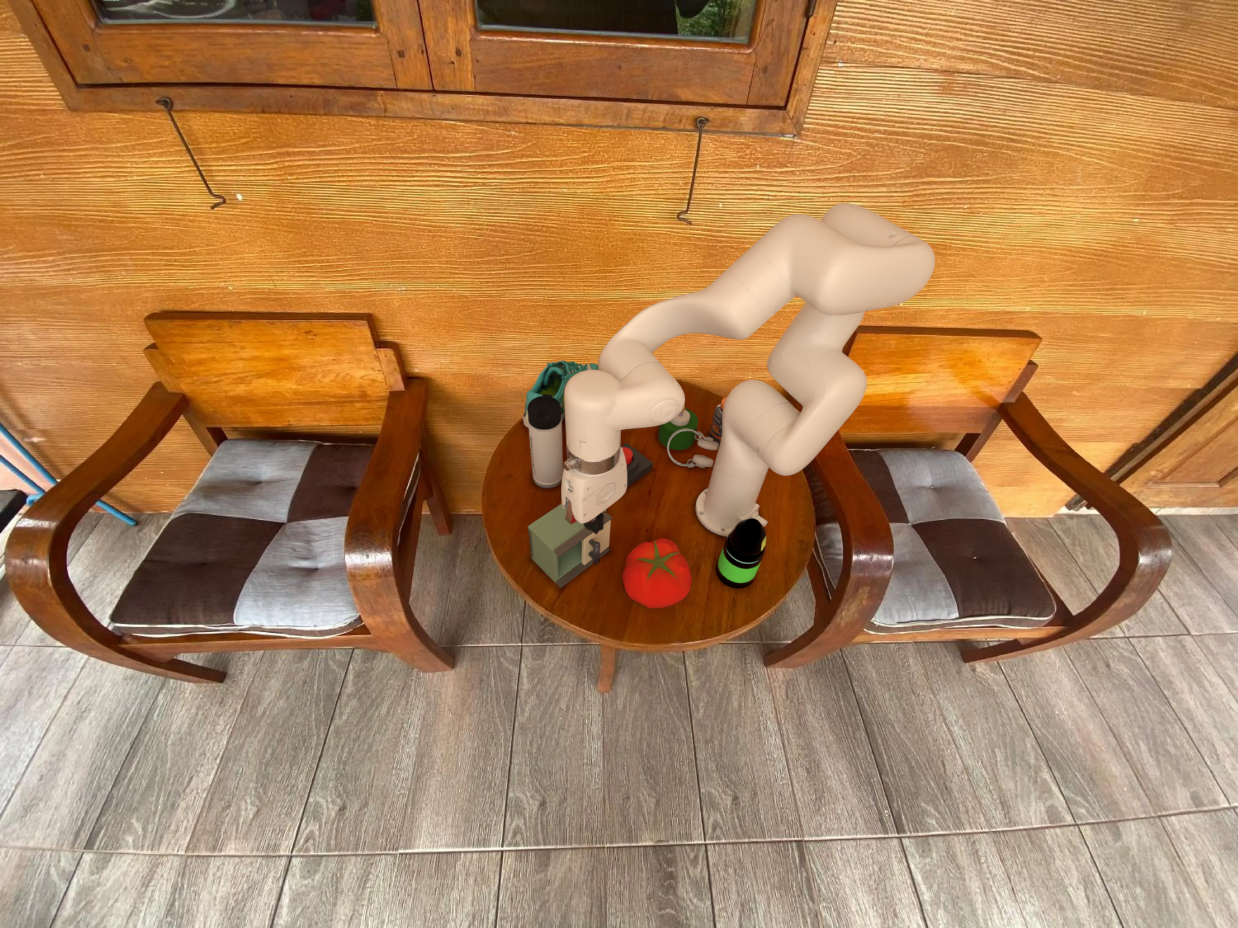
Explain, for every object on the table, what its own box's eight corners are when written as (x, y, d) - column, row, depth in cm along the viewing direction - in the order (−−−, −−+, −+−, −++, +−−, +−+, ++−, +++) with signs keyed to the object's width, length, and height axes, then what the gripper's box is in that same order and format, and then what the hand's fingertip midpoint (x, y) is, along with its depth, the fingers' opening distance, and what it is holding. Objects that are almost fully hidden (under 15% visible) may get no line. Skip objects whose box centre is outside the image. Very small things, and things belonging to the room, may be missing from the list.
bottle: (709, 578, 102) (725, 530, 91) (723, 550, 106) (740, 500, 95) (746, 596, 100) (768, 549, 89) (759, 566, 104) (781, 518, 93)
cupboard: (609, 550, 105) (612, 517, 97) (560, 588, 99) (559, 556, 91) (580, 523, 109) (580, 489, 101) (531, 558, 103) (527, 524, 95)
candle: (654, 444, 124) (659, 411, 117) (663, 421, 130) (668, 387, 122) (690, 454, 123) (697, 420, 116) (697, 429, 128) (704, 396, 121)
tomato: (671, 630, 94) (678, 606, 88) (608, 596, 98) (610, 571, 92) (700, 575, 102) (709, 548, 96) (641, 545, 106) (645, 518, 100)
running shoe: (611, 374, 141) (613, 336, 133) (557, 445, 123) (556, 405, 114) (572, 361, 144) (572, 323, 136) (514, 429, 125) (509, 389, 117)
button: (635, 459, 116) (636, 454, 115) (623, 468, 114) (623, 462, 113) (623, 450, 118) (624, 444, 117) (611, 458, 116) (611, 452, 115)
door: (617, 554, 103) (620, 525, 97) (592, 573, 100) (593, 545, 94) (606, 543, 105) (608, 515, 98) (581, 562, 102) (581, 534, 95)
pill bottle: (703, 434, 128) (712, 396, 119) (725, 427, 130) (735, 390, 121) (716, 451, 124) (726, 414, 116) (739, 444, 126) (750, 407, 118)
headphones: (753, 486, 118) (662, 462, 118) (750, 481, 122) (662, 458, 122) (765, 449, 117) (673, 425, 116) (761, 446, 120) (672, 422, 120)
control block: (652, 469, 119) (653, 457, 116) (618, 493, 114) (619, 480, 111) (626, 449, 123) (627, 436, 120) (592, 471, 118) (593, 458, 115)
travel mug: (565, 467, 119) (564, 395, 104) (560, 490, 114) (557, 418, 99) (536, 463, 119) (531, 391, 104) (530, 487, 114) (523, 414, 100)
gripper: (571, 493, 73) (574, 567, 87) (648, 439, 80) (640, 515, 94) (535, 462, 77) (543, 538, 90) (613, 413, 84) (610, 490, 98)
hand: (593, 526), depth 92 cm, fingers closed
